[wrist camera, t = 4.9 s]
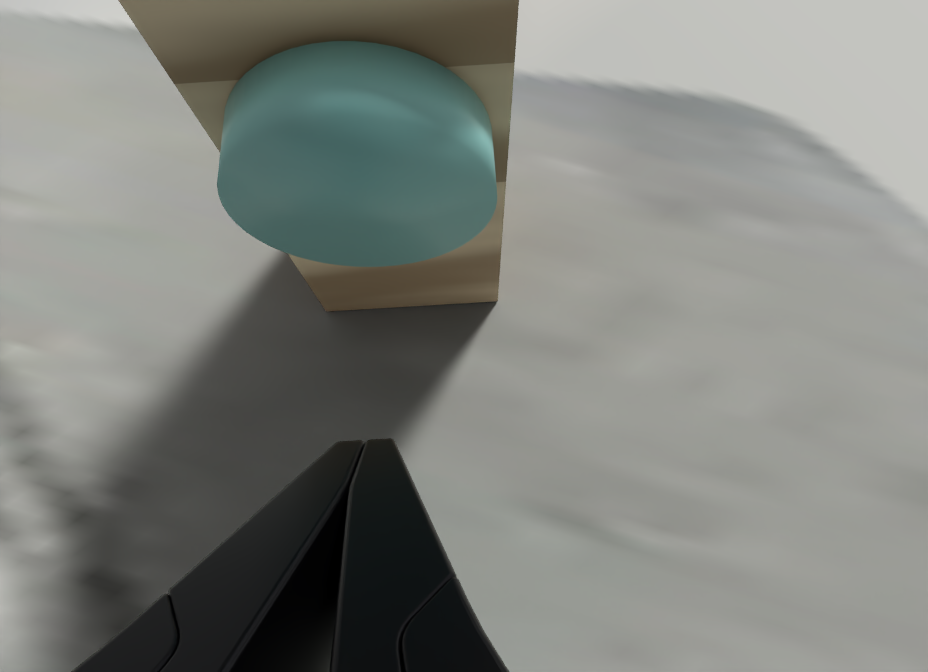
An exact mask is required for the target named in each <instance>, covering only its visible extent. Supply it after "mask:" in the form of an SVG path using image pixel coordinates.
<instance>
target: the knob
mask: <svg viewBox="0 0 928 672" xmlns="http://www.w3.org/2000/svg"><path fill="white" fill-rule="evenodd" d="M217 188H218V195H219V197H220V200H221V203H222V205H223V207H224V208H225V210H226V211H227V213H228V215H229V216H230V217H231V218H232V219H233V220H234V221H235V222H236V224H238V225H239V226H240V227H241V228H242V229H243V230H245V231H246V232H247V233H249V234H250V235H252V236H253V237H255V238H256V239H258V240H259V241H261V242H263V243H265V244H267V245H269V246H271V247H273V248H276V249H278V250H280V251H282V252H285V253H288V254H291V255H294V256H297V257H301V258H304V259H308V260H312V261H317V262H322V263H327V264H334V265H342V266H354V267H383V266H395V265H403V264H409V263H414V262H419V261H424V260H427V259H431V258H434V257H437V256H440V255H443V254H445V253H448V252H450V251H452V250H454V249H457V248H459V247H461V246H462V245H464V244H465V243H467V242H469V241H470V240H472V239H473V238H474V237H475V236H477V235H478V234H479V233H480V232H481V231H482V230H483V229H484V228H485V227H486V226H487V224H488V223H489V221H490V220H491V218H492V216H493V214H494V211H495V209H496V204H497V185H496V173H495V161H494V149H493V138H492V126H491V122H490V119H489V115H488V113H487V111H486V109H485V107H484V105H483V103H482V101H481V100H480V99H479V97H478V96H477V94H476V93H475V92H474V91H473V90H472V89H471V88H470V87H469V86H468V85H467V84H466V83H465V82H464V81H463V80H462V79H461V78H460V77H458V76H457V75H456V74H454V73H453V72H452V71H450V70H449V69H447V68H445V67H444V66H442V65H440V64H438V63H437V62H435V61H433V60H431V59H428V58H426V57H424V56H421V55H419V54H417V53H414V52H411V51H407V50H404V49H401V48H398V47H393V46H388V45H383V44H378V43H371V42H360V41H329V42H321V43H312V44H308V45H303V46H299V47H295V48H291V49H288V50H286V51H283V52H280V53H278V54H275V55H273V56H271V57H269V58H267V59H265V60H264V61H262V62H260V63H258V64H257V65H256V66H254V67H253V68H252V69H250V70H249V71H248V72H246V73H245V74H244V76H243V77H242V78H241V79H240V80H239V81H238V82H237V83H236V85H235V86H234V88H233V90H232V91H231V93H230V95H229V97H228V100H227V103H226V106H225V112H224V121H223V131H222V141H221V151H220V161H219V171H218V181H217Z"/></svg>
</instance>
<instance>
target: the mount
mask: <svg viewBox="0 0 928 672" xmlns="http://www.w3.org/2000/svg"><path fill="white" fill-rule="evenodd" d="M119 2H120V3H121V5H122V6H123V8H124V9H125V11H126V12H127V14H128V15H129V17H130V18H131V20H132V21H133V23H134V24H135V26H136V27H137V29H138V30H139V32H140V33H141V35H142V36H143V38H144V39H145V41H146V42H147V44H148V45H149V47H150V48H151V50H152V51H153V53H154V54H155V56H156V57H157V59H158V60H159V62H160V63H161V65H162V66H163V68H164V69H165V71H166V72H167V74H168V75H169V77H170V78H171V80H172V81H173V83H174V84H175V86H176V87H177V89H178V90H179V92H180V93H181V95H182V96H183V98H184V99H185V101H186V102H187V104H188V105H189V107H190V108H191V110H192V111H193V113H194V114H195V116H196V117H197V119H198V120H199V122H200V123H201V125H202V126H203V128H204V129H205V131H206V132H207V134H208V135H209V137H210V138H211V140H212V141H213V143H214V144H215V146H216V147H217V149H218V150H219V152H220V151H221V141H222V131H223V121H224V112H225V106H226V103H227V100H228V97H229V95H230V93H231V91H232V90H233V88H234V86H235V85H236V83H237V82H238V81H239V80H240V79H241V78H242V77H243V76H244V74H245V73H246V72H248V71H249V70H250V69H252V68H253V67H254V66H256V65H257V64H258V63H260V62H262V61H264V60H265V59H267V58H269V57H271V56H273V55H275V54H278V53H280V52H283V51H286V50H288V49H291V48H295V47H299V46H303V45H308V44H312V43H321V42H329V41H360V42H371V43H378V44H383V45H388V46H393V47H398V48H401V49H404V50H407V51H411V52H414V53H417V54H419V55H421V56H424V57H426V58H428V59H431V60H433V61H435V62H437V63H438V64H440V65H442V66H444V67H445V68H447V69H449V70H450V71H452V72H453V73H454V74H456V75H457V76H458V77H460V78H461V79H462V80H463V81H464V82H465V83H466V84H467V85H468V86H469V87H470V88H471V89H472V90H473V91H474V92H475V93H476V94H477V96H478V97H479V99H480V100H481V101H482V103H483V105H484V107H485V109H486V111H487V113H488V115H489V119H490V122H491V126H492V138H493V149H494V161H495V173H496V185H497V204H496V209H495V211H494V214H493V216H492V218H491V220H490V221H489V223H488V224H487V226H486V227H485V228H484V229H483V230H482V231H481V232H480V233H479V234H478V235H477V236H475V237H474V238H473V239H472V240H470V241H469V242H467V243H465V244H464V245H462V246H461V247H459V248H457V249H454V250H452V251H450V252H448V253H445V254H443V255H440V256H437V257H434V258H431V259H427V260H424V261H419V262H414V263H409V264H403V265H395V266H383V267H354V266H342V265H334V264H327V263H322V262H317V261H312V260H308V259H304V258H301V257H297V256H294V255H291V254H288V255H289V256H290V258H291V259H292V261H293V262H294V264H295V265H296V267H297V268H298V270H299V271H300V273H301V274H302V276H303V277H304V279H305V280H306V282H307V283H308V285H309V286H310V288H311V289H312V291H313V292H314V294H315V295H316V297H317V298H318V300H319V301H320V303H321V304H322V306H323V307H324V309H325V310H326V311H343V310H359V309H376V308H393V307H409V306H426V305H443V304H460V303H476V302H493V301H498V287H499V273H500V259H501V245H502V231H503V217H504V202H505V188H506V174H507V160H508V146H509V132H510V118H511V104H512V90H513V76H514V62H515V46H516V32H517V18H518V5H519V0H119Z"/></svg>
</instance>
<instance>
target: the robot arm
mask: <svg viewBox="0 0 928 672" xmlns="http://www.w3.org/2000/svg"><path fill="white" fill-rule="evenodd" d="M71 672H509V670H508V669H507V667H506V666H505V664H504V663H503V661H502V660H501V658H500V656H499V655H498V653H497V651H496V650H495V648H494V647H493V645H492V643H491V642H490V640H489V638H488V637H487V635H486V634H485V632H484V630H483V628H482V626H481V624H480V623H479V621H478V619H477V617H476V615H475V613H474V611H473V609H472V607H471V605H470V603H469V601H468V599H467V597H466V595H465V593H464V590H463V588H462V586H461V584H460V582H459V580H458V579H457V578H456V574H455V572H454V569H453V567H452V565H451V563H450V561H449V559H448V556H447V554H446V552H445V550H444V548H443V546H442V543H441V541H440V539H439V537H438V535H437V532H436V530H435V528H434V526H433V524H432V522H431V519H430V517H429V515H428V513H427V511H426V508H425V506H424V504H423V502H422V500H421V498H420V495H419V493H418V491H417V489H416V487H415V484H414V482H413V480H412V478H411V476H410V474H409V471H408V469H407V467H406V465H405V463H404V461H403V458H402V456H401V454H400V452H399V450H398V447H397V445H396V443H395V441H394V440H393V439H390V438H389V439H373V440H368V441H366V443H365V442H364V441H362V440H356V441H340V442H337V443H335V444H334V445H333V446H332V447H331V448H329V449H328V450H327V451H326V452H325V453H324V454H323V455H322V456H320V457H319V458H318V459H317V460H316V461H315V462H314V463H312V464H311V465H310V466H309V467H308V468H307V469H306V470H304V471H303V472H302V473H301V474H300V475H299V476H298V477H297V478H295V479H294V480H293V481H292V482H291V483H290V484H289V485H287V486H286V487H285V488H284V489H283V490H282V491H281V492H279V493H278V494H277V495H276V496H275V497H274V498H273V499H272V500H270V501H269V502H268V503H267V504H266V505H265V506H264V507H262V508H261V509H260V510H259V511H258V512H257V513H256V514H254V515H253V516H252V517H251V518H250V519H249V520H248V521H247V522H245V523H244V524H243V525H242V526H241V527H240V528H239V529H237V530H236V531H235V532H234V533H233V534H232V535H231V536H230V537H228V538H227V539H226V540H225V541H224V542H223V543H222V544H220V545H219V546H218V547H217V548H216V549H215V550H214V551H212V552H211V553H210V554H209V555H208V556H207V557H206V558H205V559H203V560H202V561H201V562H200V563H199V564H198V565H197V566H195V567H194V568H193V569H192V570H191V571H190V572H189V573H187V574H186V575H185V576H184V577H183V578H182V579H181V580H180V581H178V582H177V583H176V584H175V585H174V586H173V587H172V588H170V590H169V595H168V594H164V595H162V596H161V597H160V598H159V599H158V600H157V601H155V602H154V603H153V604H152V605H151V606H150V607H149V608H147V609H146V610H145V611H144V612H143V613H142V614H141V615H139V616H138V617H137V618H136V619H135V620H134V621H132V622H131V623H130V624H129V625H128V626H126V627H125V628H124V629H123V630H122V631H121V632H119V633H118V634H117V635H116V636H115V637H113V638H112V639H111V640H110V641H109V642H108V643H106V644H105V645H104V646H103V647H102V648H100V649H99V650H98V651H97V652H96V653H94V654H93V655H92V656H90V657H89V658H88V659H87V660H85V661H84V662H83V663H82V664H80V665H79V666H78V667H77V668H75V669H74V670H73V671H71Z"/></svg>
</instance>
